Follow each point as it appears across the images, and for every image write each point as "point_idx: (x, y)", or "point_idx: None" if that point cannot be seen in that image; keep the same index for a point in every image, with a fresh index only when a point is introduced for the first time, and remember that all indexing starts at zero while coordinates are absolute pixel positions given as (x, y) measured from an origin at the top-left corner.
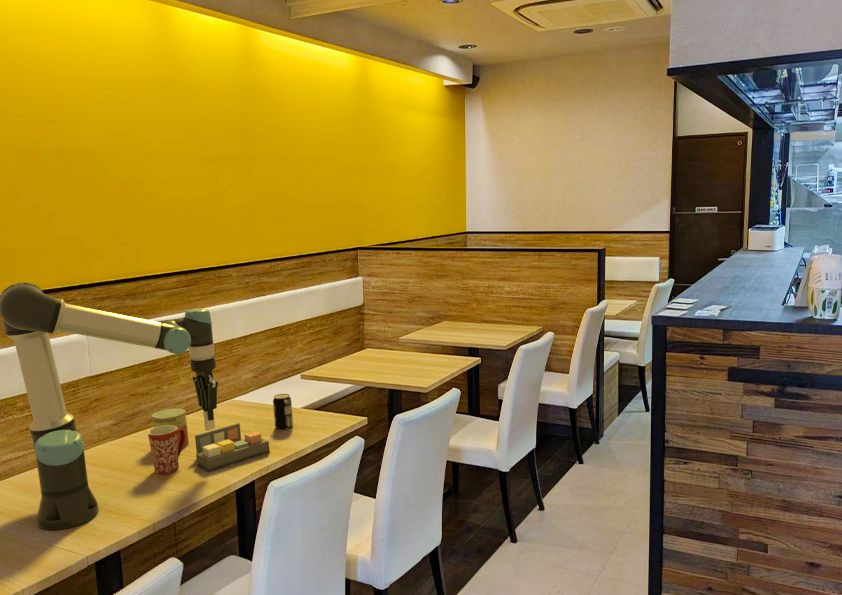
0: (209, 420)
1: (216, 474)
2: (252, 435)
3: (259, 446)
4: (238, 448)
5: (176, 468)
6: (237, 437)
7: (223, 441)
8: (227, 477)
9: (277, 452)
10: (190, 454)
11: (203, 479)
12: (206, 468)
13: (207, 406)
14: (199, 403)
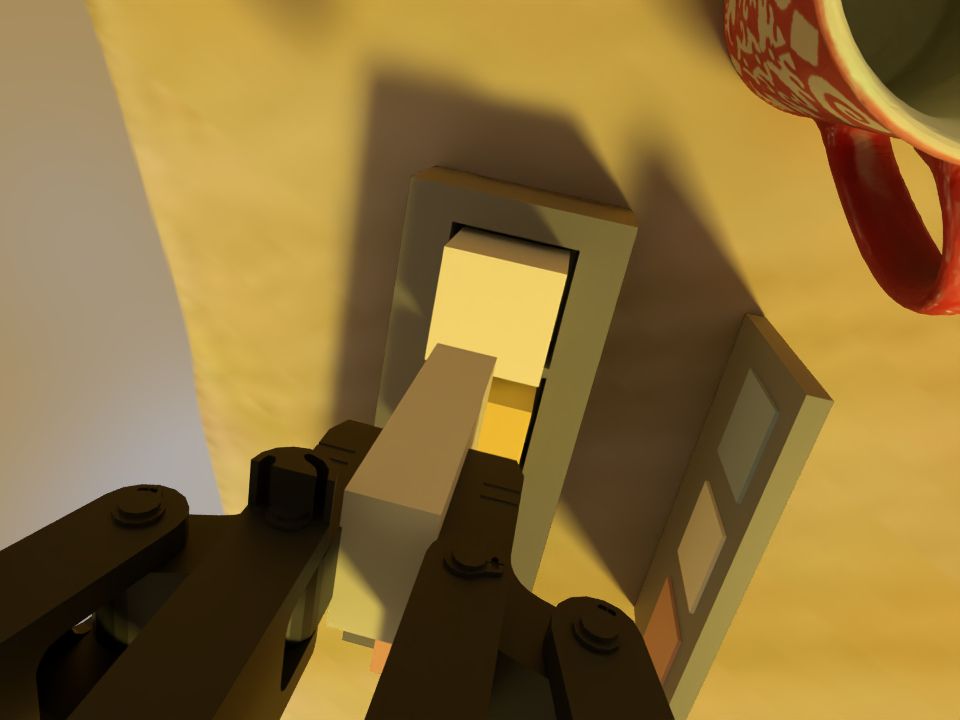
0: (352, 422)
1: (350, 169)
2: None
3: None
4: None
5: (726, 41)
6: (644, 637)
7: (499, 455)
8: (237, 172)
9: None
10: (898, 351)
11: (350, 45)
12: (464, 175)
13: (206, 562)
14: (607, 660)
